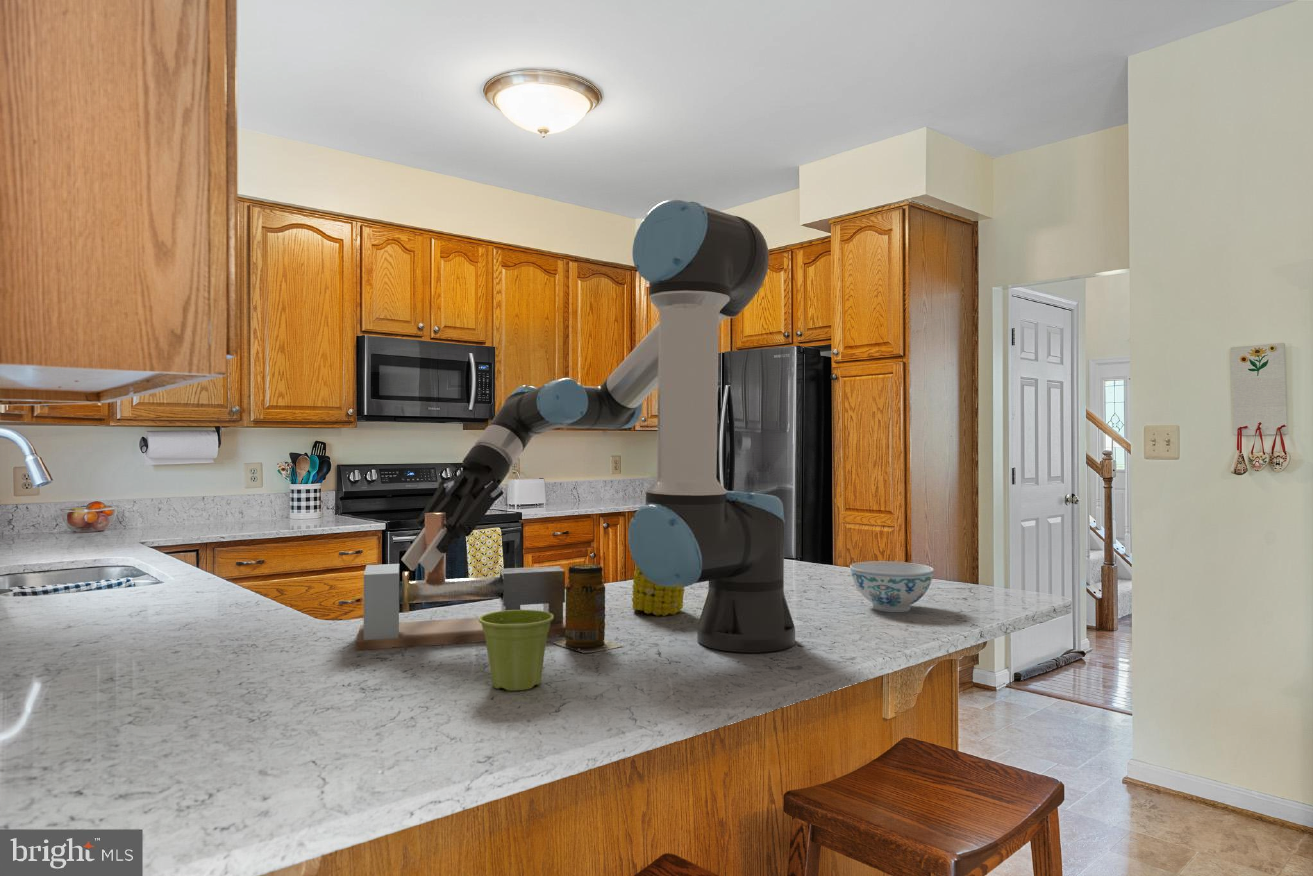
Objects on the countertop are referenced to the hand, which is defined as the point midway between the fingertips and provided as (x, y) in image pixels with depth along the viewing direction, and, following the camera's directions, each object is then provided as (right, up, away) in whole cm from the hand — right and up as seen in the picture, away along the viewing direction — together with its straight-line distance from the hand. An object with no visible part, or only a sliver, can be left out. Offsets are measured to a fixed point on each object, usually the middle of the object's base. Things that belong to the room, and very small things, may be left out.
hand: (416, 565), depth 126 cm
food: (+38, -12, +22) cm, 45 cm away
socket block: (-6, -10, +1) cm, 12 cm away
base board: (+7, -12, +5) cm, 14 cm away
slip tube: (+4, -8, +4) cm, 10 cm away
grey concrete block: (+17, -10, +8) cm, 21 cm away
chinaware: (+81, -12, +25) cm, 86 cm away
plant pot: (+20, -12, -23) cm, 32 cm away
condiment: (+27, -12, -3) cm, 30 cm away
